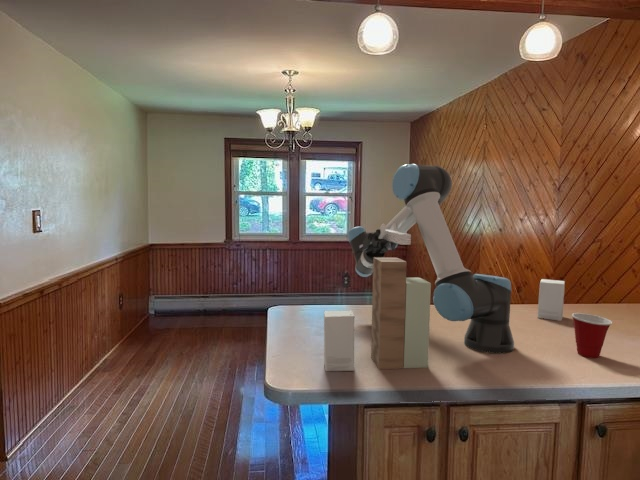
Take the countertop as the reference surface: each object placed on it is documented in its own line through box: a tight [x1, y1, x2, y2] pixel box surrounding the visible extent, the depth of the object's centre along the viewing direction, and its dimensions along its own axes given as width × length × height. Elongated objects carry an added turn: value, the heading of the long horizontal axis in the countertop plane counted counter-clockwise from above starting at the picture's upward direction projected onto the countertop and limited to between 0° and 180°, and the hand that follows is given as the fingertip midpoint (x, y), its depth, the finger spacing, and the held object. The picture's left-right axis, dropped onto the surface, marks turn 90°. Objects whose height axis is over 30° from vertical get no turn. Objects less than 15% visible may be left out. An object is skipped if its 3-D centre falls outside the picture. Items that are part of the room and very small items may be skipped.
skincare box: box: [323, 310, 355, 372], centre depth 125 cm, size 8×7×16 cm
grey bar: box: [381, 229, 412, 246], centre depth 144 cm, size 24×3×3 cm, turn 8°
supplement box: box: [537, 278, 566, 322], centre depth 183 cm, size 9×9×15 cm
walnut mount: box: [370, 257, 408, 370], centre depth 128 cm, size 9×7×30 cm
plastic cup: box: [571, 312, 613, 359], centre depth 138 cm, size 11×11×12 cm
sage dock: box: [402, 277, 432, 369], centre depth 129 cm, size 9×7×24 cm
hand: (389, 226), depth 148 cm, fingers closed on grey bar, 3 cm apart
